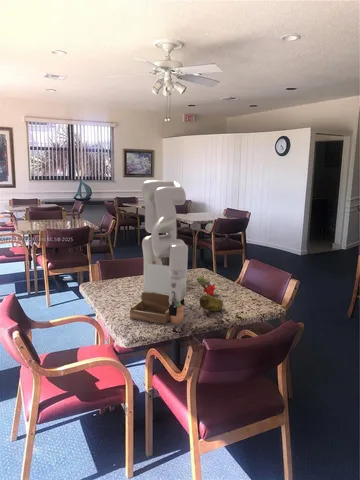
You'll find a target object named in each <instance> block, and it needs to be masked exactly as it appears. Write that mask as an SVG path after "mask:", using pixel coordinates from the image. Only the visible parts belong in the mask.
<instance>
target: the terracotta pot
mask: <svg viewBox="0 0 360 480" xmlns="http://www.w3.org/2000/svg"><path fill="white" fill-rule="evenodd" d="M174 304H175V303H174ZM176 307H177V315H176V316H171V319H170V321H171V323H172V324H174V325H180V324H183V321H184V313H185V308H186V306H185V304H184V305H181V303H180V302H178V301H177V304H176ZM183 325H184V324H183Z"/></svg>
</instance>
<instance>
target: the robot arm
mask: <svg viewBox="0 0 360 480" xmlns="http://www.w3.org/2000/svg"><path fill="white" fill-rule="evenodd" d="M141 196H142V199H143V202H144V208H145V209H144V227H145V231H146V232H147V233H149V234H151V235H148V236H145V237H143V239H142V242H141V247H142V254H143V255H142V256H143V281H144V280H145V275H146V269H147V264H152V261H156V265H162V261H161V257H170V258H169V277H170V286H169V294H168V295H169V315H171V316H176V315H177V307H176V304H177V301H178V302H180V303H181V305H184V306H185V297H186V296H187V276H188V261H189V259H188V257H189V256H188V255H189V247H188V244H186V243H185V242H184V240H183V239H181V238H177V239H176V237H177V236H176V234H177V219H178V214H177V209H176V206H182V205H184V204H185V203H186V201H187V200H186V199H187V198H186V197H187V194H186V191H185V189H184V187H183V186H181V184H179V183H178V182H177V181H175V180H158V179H157V180H156V179H154V180H146V181H144V182H143V183H142V185H141ZM159 234H161V235H159ZM163 234H166V235H163ZM143 285H144V283H143ZM141 292H147V291H143V290H142V291H141ZM141 292H140V296H141ZM149 293H152V292H149ZM156 294H162V293H156ZM163 295H166V294H163ZM175 299H176V300H175ZM173 301H174V302H175V304H174V302H173Z"/></svg>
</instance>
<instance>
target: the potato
mask: <svg viewBox="0 0 360 480" xmlns="http://www.w3.org/2000/svg"><path fill="white" fill-rule="evenodd" d="M198 301H199V307H200V308H202V309H204V310H207V311H210V312H218V311H220V310H221V309H222V308H223V307H224V302H223V300H222V299H220V298H218V297H214V295H207V294H204V295H201V296H200V298H199V299H198Z"/></svg>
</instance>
